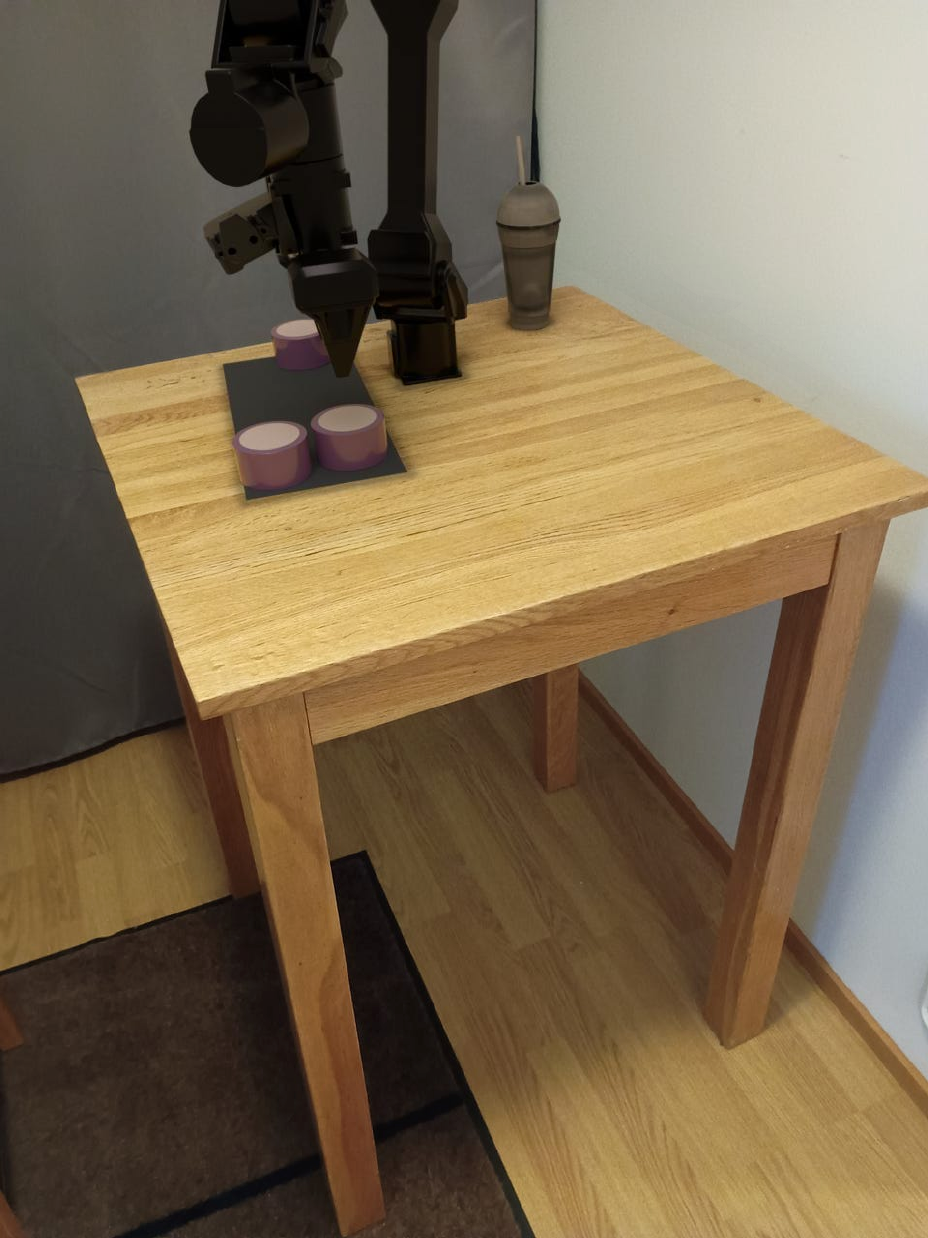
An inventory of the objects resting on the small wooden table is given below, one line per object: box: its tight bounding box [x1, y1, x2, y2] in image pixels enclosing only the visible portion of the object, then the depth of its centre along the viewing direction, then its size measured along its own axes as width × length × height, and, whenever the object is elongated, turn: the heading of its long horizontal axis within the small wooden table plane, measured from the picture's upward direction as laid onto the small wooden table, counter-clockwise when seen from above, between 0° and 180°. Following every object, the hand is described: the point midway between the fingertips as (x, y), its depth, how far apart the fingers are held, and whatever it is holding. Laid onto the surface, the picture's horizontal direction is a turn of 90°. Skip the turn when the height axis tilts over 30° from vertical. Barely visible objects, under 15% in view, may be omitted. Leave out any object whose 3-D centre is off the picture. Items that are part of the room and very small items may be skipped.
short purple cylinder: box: [270, 318, 330, 370], centre depth 103 cm, size 6×6×4 cm
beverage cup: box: [495, 135, 562, 331], centre depth 104 cm, size 7×7×20 cm
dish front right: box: [231, 421, 313, 491], centre depth 81 cm, size 6×6×4 cm
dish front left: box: [311, 404, 388, 472], centre depth 83 cm, size 6×6×4 cm
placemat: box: [222, 355, 408, 501], centre depth 93 cm, size 14×33×1 cm, turn 15°
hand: (334, 357), depth 79 cm, fingers open, 9 cm apart
